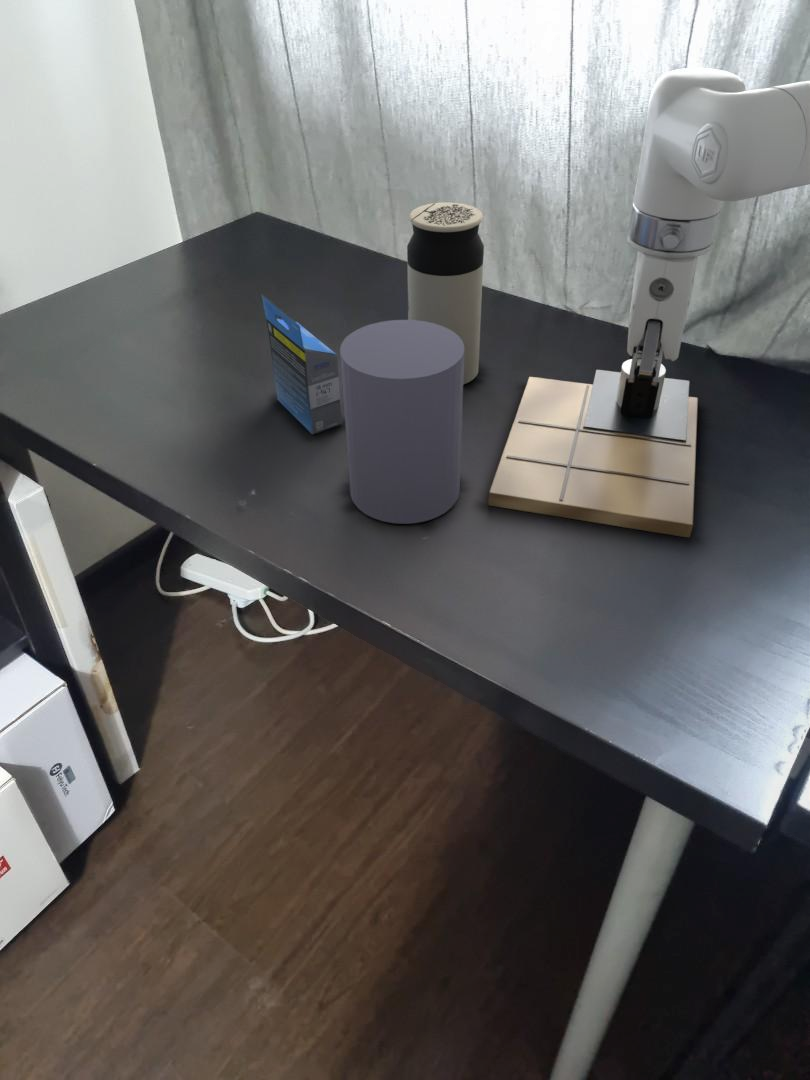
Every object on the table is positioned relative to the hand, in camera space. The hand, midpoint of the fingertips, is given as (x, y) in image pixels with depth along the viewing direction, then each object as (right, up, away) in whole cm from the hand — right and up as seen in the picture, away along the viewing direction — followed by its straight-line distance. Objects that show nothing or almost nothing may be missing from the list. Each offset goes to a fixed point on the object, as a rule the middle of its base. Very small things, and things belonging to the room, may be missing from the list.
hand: (638, 400), depth 86 cm
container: (-24, -10, -8) cm, 28 cm away
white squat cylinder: (0, 0, 0) cm, 0 cm away
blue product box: (-35, -1, +3) cm, 35 cm away
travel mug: (-20, +5, +9) cm, 22 cm away
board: (-5, -5, -3) cm, 7 cm away
